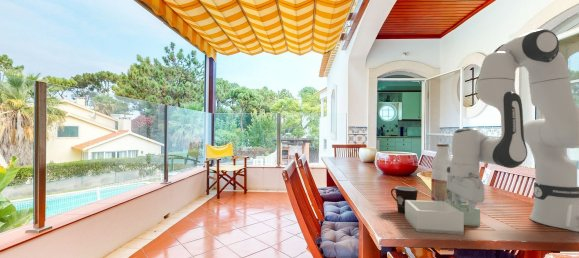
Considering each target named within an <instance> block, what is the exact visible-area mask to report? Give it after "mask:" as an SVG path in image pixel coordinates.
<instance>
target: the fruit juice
mask: <svg viewBox="0 0 579 258" xmlns="http://www.w3.org/2000/svg"><path fill="white" fill-rule="evenodd" d="M436 148H437V150H436V154H435V155H434V157H433V158H432V160H431V166H432V171H431V175H430V177H431V181H430V183H431V186H430V188H431V194H430V196H431V197H430V198H431V199H430V201H442V202H446V203H447V175H448V173H447V172H446V168H447V167H449V166H450V165H451V161H452V158H453V156H451V153H450V149H449V148H450V144H449V143H437V144H436Z"/></svg>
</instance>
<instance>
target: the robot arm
mask: <svg viewBox="0 0 579 258" xmlns="http://www.w3.org/2000/svg"><path fill="white" fill-rule="evenodd" d="M559 50H560V40H559V38H558V35H556V33H555V32H553V31H552V30H549V29H545V28H544V29H543V28H541V29H536V30H532V31H530V32H528V33H525V34H522V35H520V36H517V37H515V38H513V39H512V40H510V41H508V42H506V43H504V44H501V45H500V46H498V47H497V48H496V49H495V50H494V51H493V52H491V53H489V54H487V55H486V56H485V58H484V59H483V61H482V63H481V67H480V70H479V74H478V81H477V87H476V89H477V91H476V92H477V97H478V98H479V100H480V101H482V102H483V103H484V104H487V105H488V106H490V107H493V108H496V109H497V110H498V111H499V114H500V124H501V125H500V126H501V127H500V130H501V136H500V137H490V136H488V135H485V134H484V133H483V132H481V131H480V130H479V129H478V128H477V127H466V128H465V127H464V128H459V129H457V130H455V131H454V132H453V135H452V139H451V154H452V161H451V165H450V166H449V167H447V168H446V172H447V173H448V175H447V185H448V189H449V190H450V191H452V192H453V196H454V199H455V204H461V201H460V196H462V197H464V198H466V199H467V204H469V205H468V207H467V211H468V212H469V213H474V208H475V207H477V203H479V204H481V203H482V204H483V203H484V201H485V187H484V183H483V181H482V179H481V178H480V164H481V163H484V164H485V163H487V164H489V165H494V166H495V165H496V166H499V167H504V168H507V169H514V168H517V167H519V166H521V165H522V164H523V163H524V162H525V160H526V159H527V157H528V147H529V148H530V149H529V150H530V151H531V154H532V157H533V160H534V167H535V168H534V169H535V171H534V173H535V177H534V178H535V181H534V182H533V194H534V195H533V196H534V200H533V207H532V210H531V213H530V216H529V219H530V220H531V221H534V222H536V223H539V224H542V225H546V226H549V227H554V228H560V229H564V230H569V231H571V232H572V231H573V232H577V233H578V232H579V185H578V165H577V164H576V163H575V161H573V160H572V159H571V158H570V156H569V155H568V154H567V151H566V149H578V148H579V107H578V105H577V103H576V102H575V99H574V94H573V90H572V84H571V75H570V70H569V67H568V63H567V61H566V59H565V57H564V55H563V54H562V52H559ZM522 67H524V68H525V69H526V71H527V72H528V85H529V94H530V100H531V104H532V106H534V107H535V108H537V110H539V111H540V113H541V114H542V116H543V118H537V119H534V120H530V121H528V122H527V121H526V123H524V114H523V113H524V112H523V102H522V99H521V96H520V95H519V94H518V93H517V91H516V87H515V84H516V71H517V69H518V68H522ZM526 144H527V145H528V147H527V145H526Z"/></svg>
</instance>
